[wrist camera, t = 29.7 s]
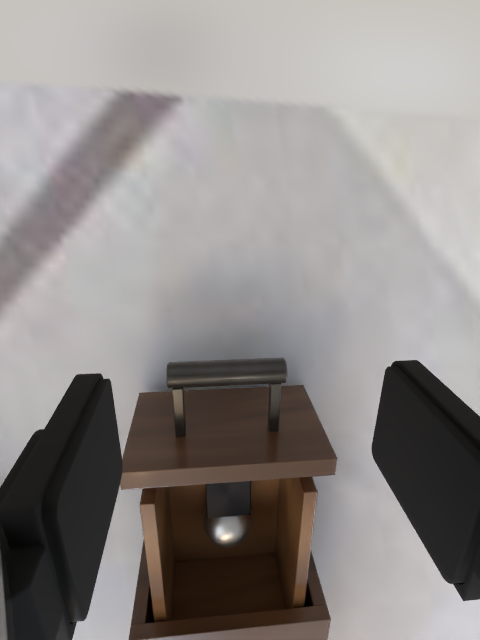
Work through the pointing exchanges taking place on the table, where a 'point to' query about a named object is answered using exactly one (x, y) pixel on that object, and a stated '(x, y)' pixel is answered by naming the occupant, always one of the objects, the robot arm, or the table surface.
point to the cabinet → (234, 618)
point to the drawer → (221, 467)
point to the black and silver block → (228, 513)
